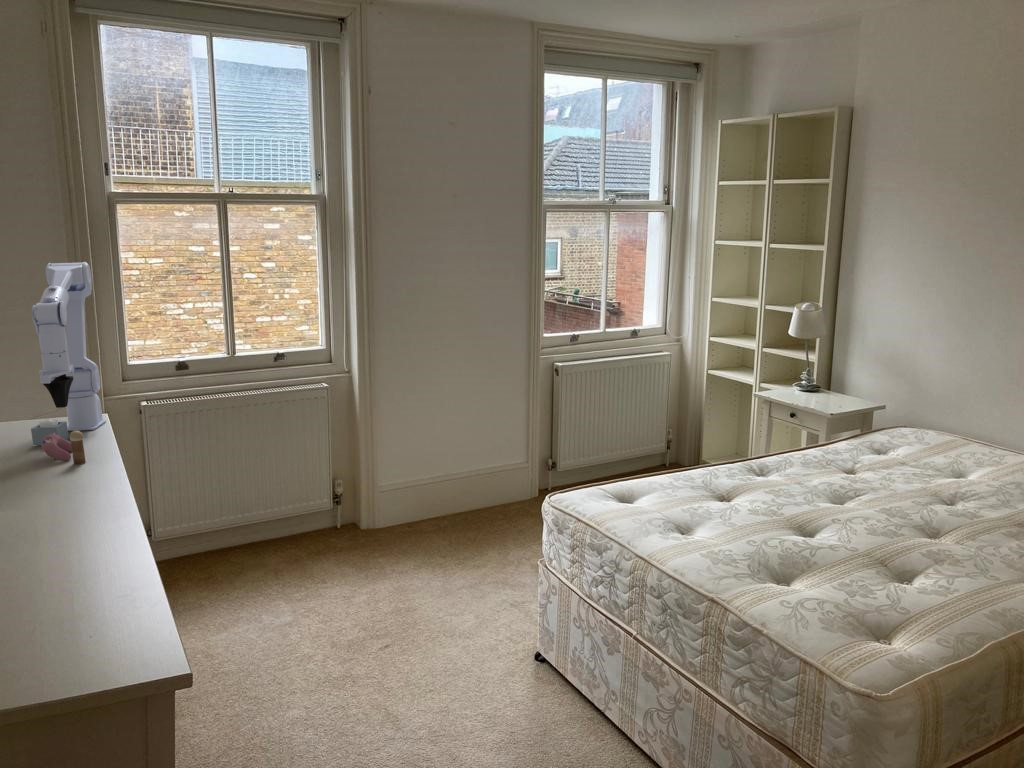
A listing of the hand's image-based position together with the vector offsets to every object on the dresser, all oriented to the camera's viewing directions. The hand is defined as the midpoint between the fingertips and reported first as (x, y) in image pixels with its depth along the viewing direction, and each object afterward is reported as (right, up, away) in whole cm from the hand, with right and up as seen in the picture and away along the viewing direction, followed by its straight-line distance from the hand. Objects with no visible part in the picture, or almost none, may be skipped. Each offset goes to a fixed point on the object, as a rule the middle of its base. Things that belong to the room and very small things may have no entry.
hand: (61, 407), depth 202 cm
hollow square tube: (-6, -9, +6) cm, 12 cm away
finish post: (+11, -12, -13) cm, 21 cm away
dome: (-6, -7, +5) cm, 11 cm away
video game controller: (+4, -12, -8) cm, 15 cm away
